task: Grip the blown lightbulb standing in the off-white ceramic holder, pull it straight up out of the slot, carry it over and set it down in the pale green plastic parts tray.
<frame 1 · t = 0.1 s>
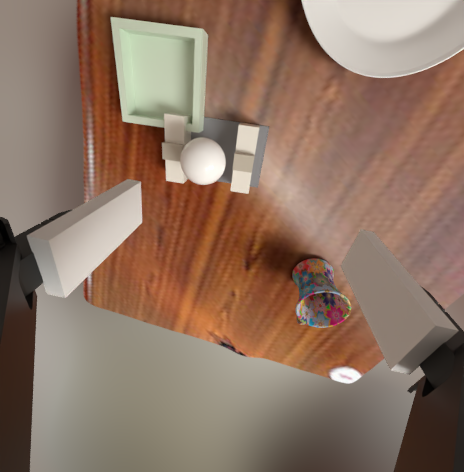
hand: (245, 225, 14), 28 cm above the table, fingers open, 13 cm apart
lightbulb: (213, 151, 39), resting on holder
tray: (166, 81, 34), on the table
mug: (308, 275, 50), on the table
holder: (213, 151, 39), on the table
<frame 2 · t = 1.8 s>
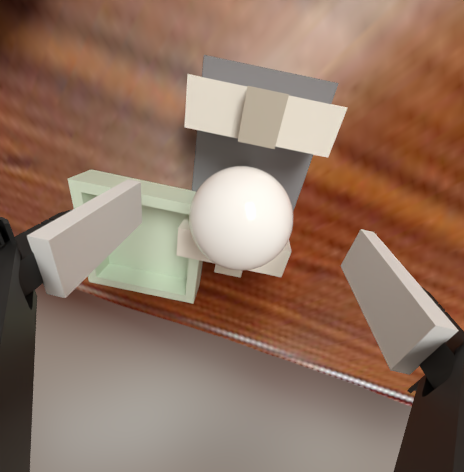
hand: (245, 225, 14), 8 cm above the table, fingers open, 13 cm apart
lightbulb: (246, 180, 21), resting on holder
tray: (152, 234, 25), on the table
holder: (246, 181, 21), on the table
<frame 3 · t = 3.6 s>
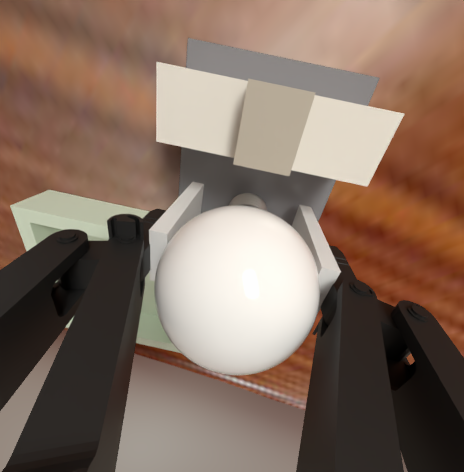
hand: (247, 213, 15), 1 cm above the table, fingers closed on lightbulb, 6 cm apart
lightbulb: (248, 206, 16), resting on holder, touching gripper
tray: (130, 267, 20), on the table
holder: (247, 207, 16), on the table
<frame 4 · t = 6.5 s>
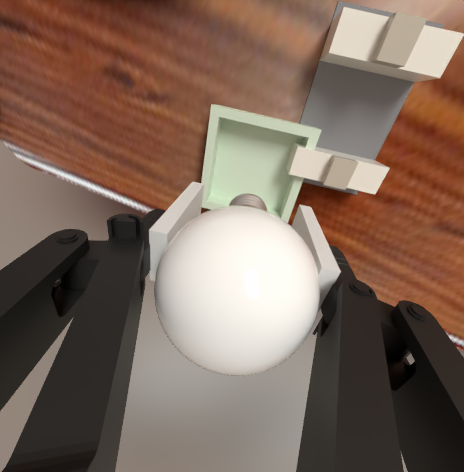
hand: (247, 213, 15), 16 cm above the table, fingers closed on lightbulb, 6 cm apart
lightbulb: (248, 207, 16), point 15 cm above the table, touching gripper
tray: (253, 166, 30), on the table
holder: (349, 114, 25), on the table
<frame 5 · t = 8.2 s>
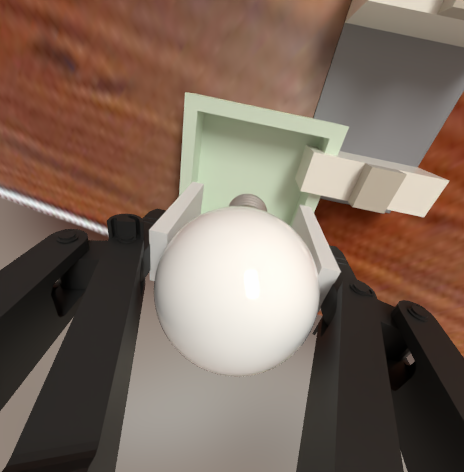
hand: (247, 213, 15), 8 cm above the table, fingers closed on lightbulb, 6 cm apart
lightbulb: (247, 207, 16), point 7 cm above the table, touching gripper
tray: (250, 178, 22), on the table
holder: (384, 103, 18), on the table
when the fingers open (3 cm above the table, at t = 9.8 s): lightbulb drops 2 cm, resting on tray.
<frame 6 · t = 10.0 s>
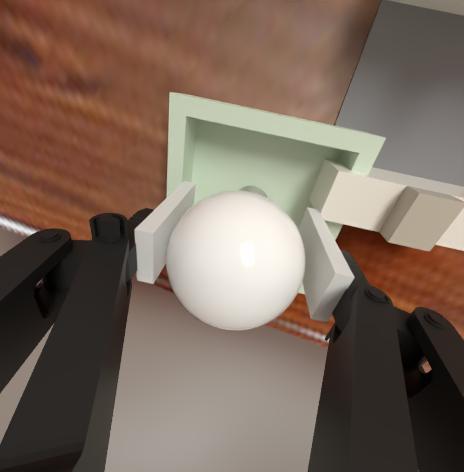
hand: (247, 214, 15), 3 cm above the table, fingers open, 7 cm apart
lightbulb: (251, 199, 18), resting on tray
tray: (254, 197, 18), on the table
holder: (429, 106, 14), on the table
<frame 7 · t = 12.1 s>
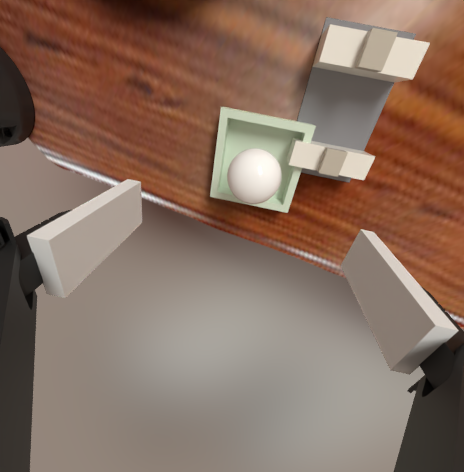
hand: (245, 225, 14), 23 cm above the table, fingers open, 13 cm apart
lightbulb: (256, 160, 33), resting on tray
tray: (258, 160, 34), on the table
holder: (339, 111, 29), on the table
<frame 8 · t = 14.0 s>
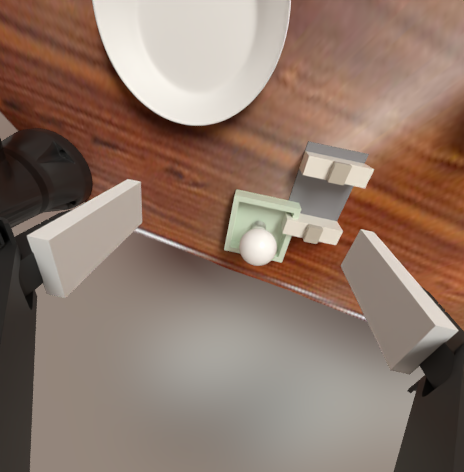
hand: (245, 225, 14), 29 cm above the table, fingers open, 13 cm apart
bowl: (196, 24, 32), on the table
lightbulb: (259, 224, 45), resting on tray
tray: (260, 223, 45), on the table
holder: (318, 196, 41), on the table
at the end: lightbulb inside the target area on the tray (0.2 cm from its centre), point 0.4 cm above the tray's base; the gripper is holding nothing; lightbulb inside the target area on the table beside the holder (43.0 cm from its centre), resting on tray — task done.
